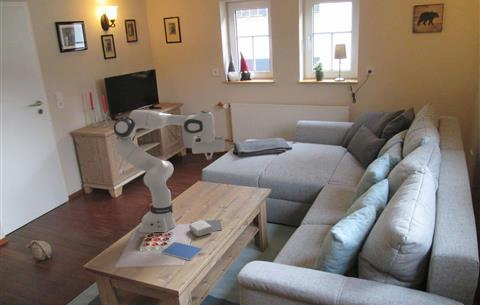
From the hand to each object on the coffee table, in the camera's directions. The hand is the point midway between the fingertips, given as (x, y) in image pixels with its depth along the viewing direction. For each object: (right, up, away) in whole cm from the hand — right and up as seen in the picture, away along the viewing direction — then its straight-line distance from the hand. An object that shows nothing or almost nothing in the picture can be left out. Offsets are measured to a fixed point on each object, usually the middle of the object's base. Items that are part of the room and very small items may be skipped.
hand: (209, 159), depth 244 cm
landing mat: (-1, -40, -5) cm, 41 cm away
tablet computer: (-12, -49, -31) cm, 60 cm away
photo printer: (-1, -41, -17) cm, 44 cm away
